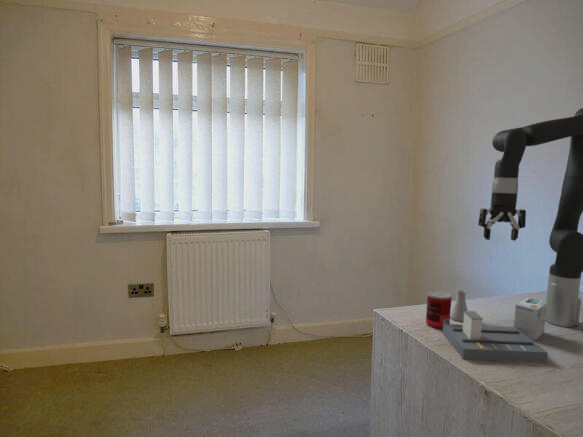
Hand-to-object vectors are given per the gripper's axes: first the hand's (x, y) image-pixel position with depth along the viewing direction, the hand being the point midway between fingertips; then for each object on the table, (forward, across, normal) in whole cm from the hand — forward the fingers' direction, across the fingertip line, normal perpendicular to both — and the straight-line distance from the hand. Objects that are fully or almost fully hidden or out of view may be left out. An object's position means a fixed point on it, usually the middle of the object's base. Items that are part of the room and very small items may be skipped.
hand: (500, 239), depth 135 cm
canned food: (+30, +19, +1) cm, 36 cm away
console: (+30, +8, +17) cm, 35 cm away
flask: (+30, +9, -6) cm, 32 cm away
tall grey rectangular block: (+27, +14, +17) cm, 35 cm away
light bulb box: (+30, -9, +6) cm, 32 cm away
